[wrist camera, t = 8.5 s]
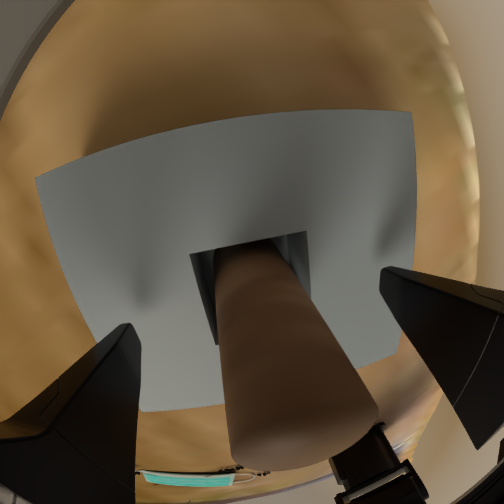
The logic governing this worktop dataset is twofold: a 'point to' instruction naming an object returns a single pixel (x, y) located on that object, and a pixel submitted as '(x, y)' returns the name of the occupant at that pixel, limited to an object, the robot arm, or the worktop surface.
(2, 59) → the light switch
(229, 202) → the hole block
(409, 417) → the worktop surface
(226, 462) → the worktop surface
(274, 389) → the dowel
